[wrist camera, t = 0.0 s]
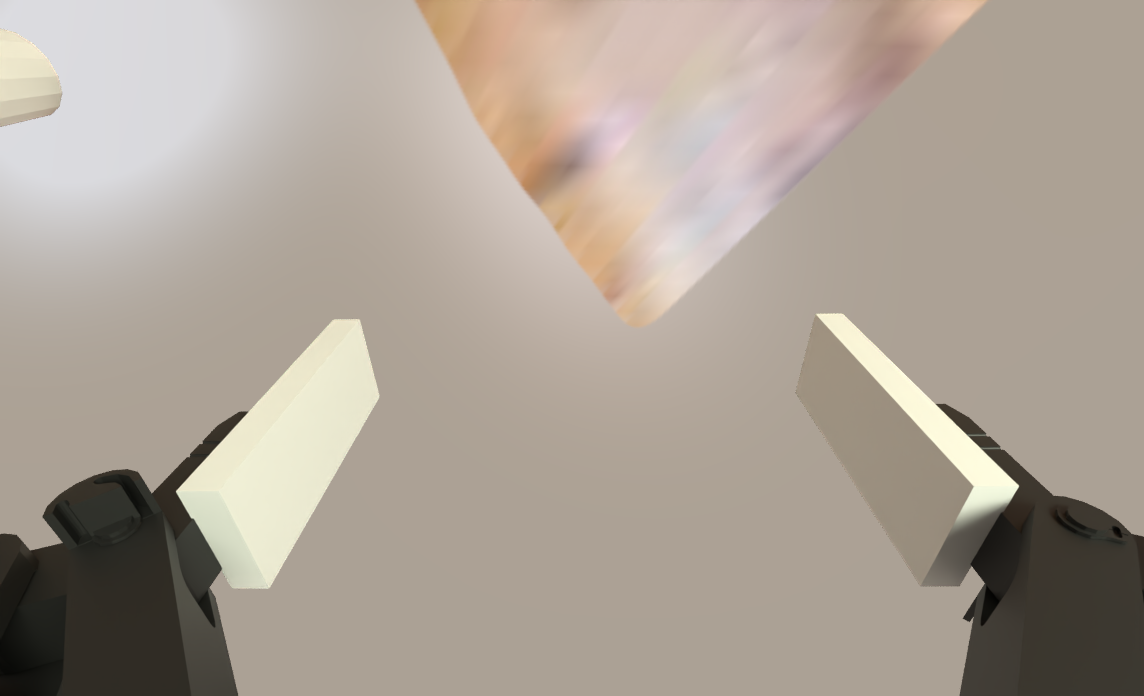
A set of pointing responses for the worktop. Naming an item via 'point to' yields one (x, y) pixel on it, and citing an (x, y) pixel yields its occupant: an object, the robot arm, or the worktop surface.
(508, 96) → the worktop surface
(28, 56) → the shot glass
